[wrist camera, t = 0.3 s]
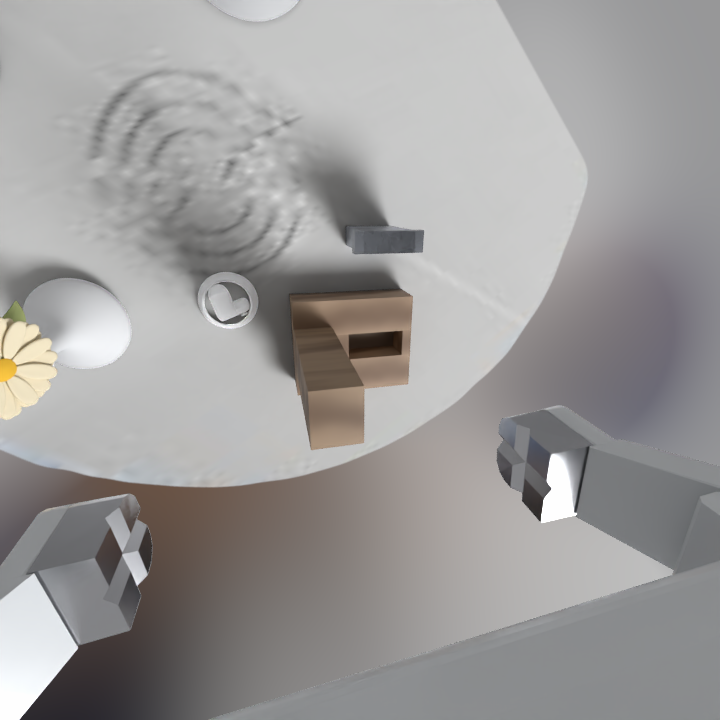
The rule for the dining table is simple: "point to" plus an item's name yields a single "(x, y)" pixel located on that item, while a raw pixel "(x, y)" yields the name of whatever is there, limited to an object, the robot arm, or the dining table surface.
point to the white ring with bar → (227, 299)
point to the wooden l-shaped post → (347, 356)
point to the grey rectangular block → (383, 239)
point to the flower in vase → (57, 338)
